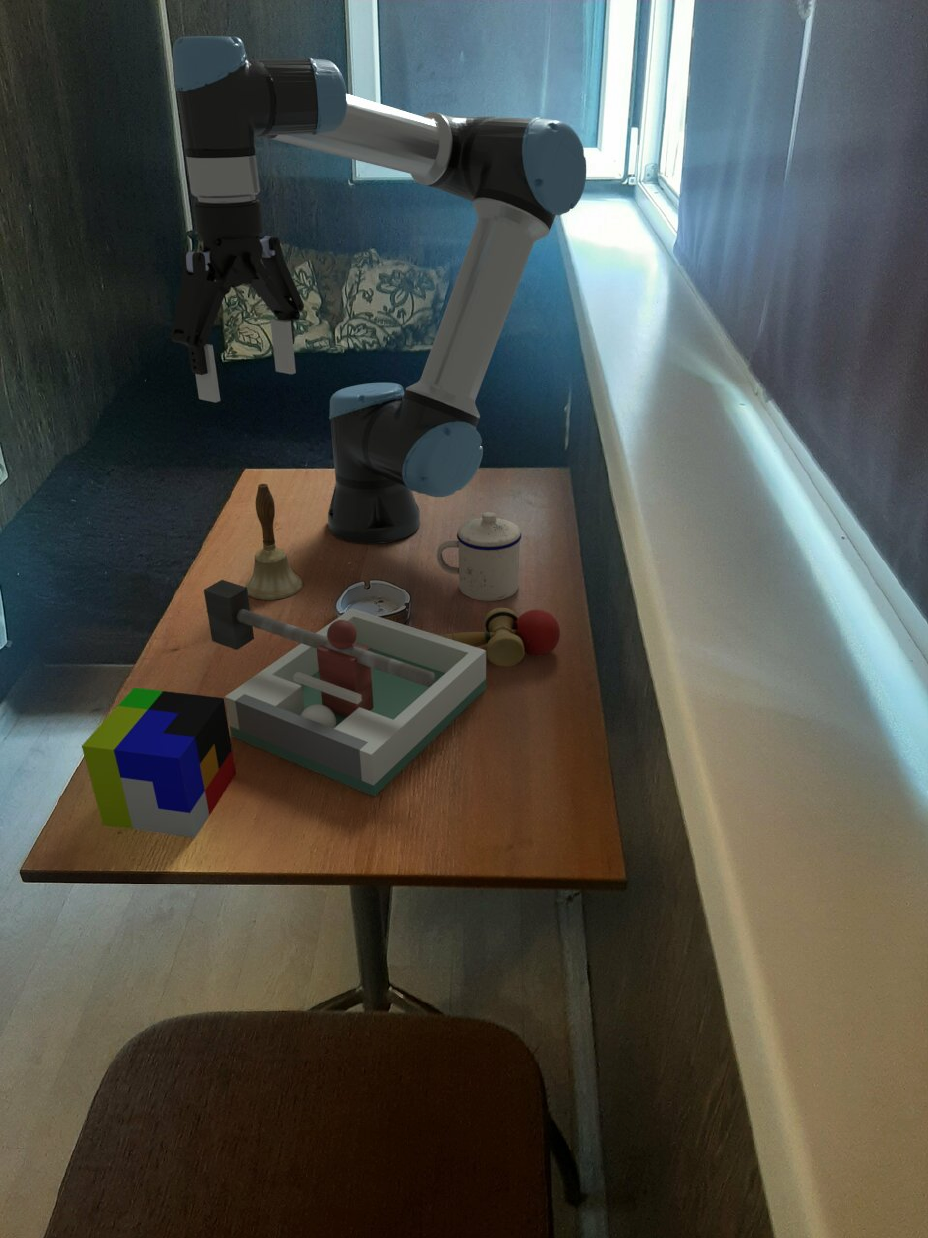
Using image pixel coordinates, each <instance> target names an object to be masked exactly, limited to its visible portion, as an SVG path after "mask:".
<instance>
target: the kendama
mask: <svg viewBox="0 0 928 1238" xmlns="http://www.w3.org/2000/svg"><path fill="white" fill-rule="evenodd" d="M484 627H485V631H474V632H473V631H472V632H471V631H470V632H469V631H468V632H467V631H465V632H464V631H463V632H453V633H444V634H443V633H442V634H437V635H438V636H441V637H445V638H448V639H451V640H454V641H457V642H461V643H464V644H467V645H470V646H473V647H477V648H479V647H480V646H485V645H486V647H485V648H486V649H485V650H486V657H487V659H488V660H489V662H490V663H492V664H493V665H495V666H498V667H511V666H515V665H517V664H519V662H521V660H522V659H523V658H524V656H525V654H526V655H527V656H531V657H542V656H545V655H548V654H549V653H551V652H552V651H554V649H555V648H556V647H557V645H558V643H559V641H560V635H561V634H560V632H561V630H560V626H559V623H558V621H557V619H556V618H555V617H554V615H552V614H551V613H550V612H549V611H545V610H544V609H543V610H542V609H531V610H527V611H525V612H523V613H522V614H520V616H518V615H517V613H516V612H515V611H514V610H512V609H510V608H507V607H497V608H494V609H492V610H491V611H489V612H488V613H487V615H486V616H485V618H484Z"/></svg>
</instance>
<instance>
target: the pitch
mask: <svg viewBox="0 0 928 1238" xmlns="http://www.w3.org/2000/svg"><path fill="white" fill-rule="evenodd" d="M337 620H346V621H349V622H350V623H352V624H353V626H354V627H355V629H356V633H357V636H356V640H355V642H354V643H355V644H358V645H361V646H364V647H367V648H370V652H373V653H376V654H379V655H382V656H385V657H388V658H391V659H394V660H397V661H400V662H403V663H406V664H409V665H412V666H415V667H418V668H421V669H424V670H427V671H430V672H433V673H434V674H435V679H434V682H433V684H432V685H431V686H430V687H427V686H424V685H421V684H418V683H415V682H412V681H409V680H406V679H404V678H401V677H398V676H395V675H392V674H389V673H386V672H383V671H380V670H377V669H375V668H372V667H371V677H372V692H373V706H374V708H373V709H372V710H370V711H368V710H366V709H363V708H360V707H359V708H358V709H357V710H355V711H354V712H353V713H352V714H351V715H349V716H348V717H345V716H343V715H340V714H337V713H335V712H333V713H334V716H335V719H336V726H335V728H334V729H333V728H331V727H328V726H325V725H323V724H320V723H318V722H315V721H313V720H310V719H307V718H305V717H302V716H301V714H302V712H303V711H304V710H305V709H306V708H307V707H309V706H311V705H316V704H320V705H322V696H321V691H322V692H325V693H328V694H330V695H333V696H336V697H339V698H341V699H344V700H347V701H349V702H352V703H355V704H358V703H360V702H361V701H362V697H361V694H358V693H356V692H353V691H350V690H347V689H345V688H342V687H339V686H336V685H333V684H331V683H328V682H325V681H322V680H320V677H319V667H318V657H317V649H316V648H314V647H311V646H308V645H305V644H302V643H299V644H298V645H297V646H296V647H294V648H293V649H291V650H289V651H288V652H287V653H285V654H284V655H283V656H281V657H280V658H278V659H277V660H276V661H274V662H273V663H271V664H269V665H268V666H267V667H266V668H264V669H262V670H261V671H260V672H258V673H257V674H256V675H254V676H253V677H251V678H250V679H248V680H247V681H245V682H244V683H243V684H241V685H240V686H238V687H237V688H236V689H234V690H232V691H231V692H229V693H227V694H226V695H225V696H224V701H225V705H226V706H225V707H226V714H227V720H228V726H229V729H230V730H229V732H230V738H234V739H237V740H239V741H240V742H241V741H242V742H243V743H246V744H247V745H250V746H253V747H256V748H257V749H260V750H262V751H264V752H267V753H269V754H272V755H275V756H277V757H279V758H281V759H283V760H286V761H288V762H291V763H294V764H296V765H299V766H300V767H303V768H305V769H307V770H310V771H312V772H314V771H315V772H314V773H316V774H319V775H321V776H325V777H327V778H329V779H332V780H334V781H336V782H338V783H340V784H343V785H345V786H348V787H350V788H353V789H355V790H357V791H360V792H362V793H364V794H367V795H369V796H372V797H376V796H377V795H378V794H379V793H380V792H381V791H382V790H383V789H384V788H385V787H386V786H387V785H388V784H389V783H390V782H391V781H392V780H393V779H394V778H396V777H397V776H398V775H399V774H400V772H402V771H403V770H404V769H405V768H406V767H407V766H408V765H409V764H410V763H411V762H412V761H413V760H414V759H415V758H416V757H417V756H418V755H419V754H420V753H422V752H423V750H424V749H425V748H427V747H428V745H430V743H432V742H433V741H434V740H435V739H436V738H437V737H438V736H439V735H440V734H441V733H442V732H443V731H444V730H445V729H446V728H447V727H448V726H449V725H450V724H451V723H452V722H453V721H455V720H456V719H457V717H458V716H460V715H461V713H463V712H464V711H465V709H467V708H468V707H469V706H470V705H471V704H472V703H473V702H474V701H475V700H476V699H477V698H478V697H479V696H480V695H481V694H482V693H483V692H484V691H486V690H487V651H486V649H483V648H480V647H473V646H470V645H467V644H464V643H461V642H457V641H454V640H451V639H448V638H445V637H441V636H438V635H439V634H435V633H433V632H428V631H425V630H422V629H418V628H415V627H413V626H409V625H406V624H404V623H400V622H396V621H393V620H390V619H386V618H384V617H380V616H377V615H374V614H371V613H368V612H365V611H362V610H358V609H355V608H350V609H348V610H347V611H345V612H343V614H341V615H340V616H338V617H337V618H335V619H334V620H333V621H331V622H330V623H328V624H327V625H325V626H324V627H322V628H321V629H320V630H318V631H317V632H316V633H317V634H320V635H323V636H326V637H327V631H328V628H329V627H330V625H331V624H332V623H333V622H335V621H337Z"/></svg>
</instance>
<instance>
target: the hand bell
mask: <svg viewBox="0 0 928 1238" xmlns="http://www.w3.org/2000/svg"><path fill="white" fill-rule="evenodd" d="M256 492H257V493H256V497H255V502H254V503H255V511H256V515H257V518H258V519H257V520H258V521H259V522H260V526H261V532H262V545H263V548H262V549H260V550H258V551H257V552H255V554H254V565H253V566H254V567H253V572H252V575H251V577H249V579H248V580H247V582H246V583H245V586H244V587H246V588H247V590H248V596H250V597H251V598H253V599H254V598H255V599H258V600H262V601H274V600H281V599H285V598H286V599H287V598H288V597H291V596H293V595H295V594H297V593H298V592H299V591H301V589H302V587H303V581H302V579H301V577H300V576H298V575H297V574H296V573H294V572H293V570H292V568H291V567H290V565H289V561H288V557H287V553H286V551H285V550H283V549H282V548H279V547H276V539H275V534H274V520H275V514H276V510H275V509H276V508H275V499H274V498H273V495H272V493H271V491H270V488H269V486H268V484H267V483H260V484H258V485H257V491H256Z"/></svg>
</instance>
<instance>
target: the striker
mask: <svg viewBox="0 0 928 1238" xmlns="http://www.w3.org/2000/svg"><path fill="white" fill-rule="evenodd" d="M203 595H204V601H205V606H206V612H207V617H208V618H207V619H208V625H209V630H210V635H211V642H213V643H215V644H216V643H217V644H219V645H222V646H225V647H227V648H230V649H232V650H235V651H238V650H239V649H241V648H242V647H244V646H246V645H247V644H249V643H250V642H252V641H253V640H255V634H254V628H256V629H259V630H262V631H265V632H267V633H270V634H274V635H276V636H280V637H282V638H285V639H288V640H290V641H294V642H297V643H299V644H301V643H302V644H305V645H308V646H311V647H314V648H316V649H317V657H318V667H319V677H320V680H322V681H325V682H328V683H331V684H333V685H336V686H339V687H342V688H345V689H347V690H350V691H353V692H356V693H358V694H361V697H362V701H361V702H360V703H358V704H355V703H352V702H349V701H347V700H344V699H341V698H339V697H336V696H333V695H330V694H328V693H325V692H322V691H321V696H322V705H324V706H326V707H328V708H329V709H330V710H331V711H332V712H335V713H337V714H340V715H343V716H345V717H348V716H349V715H351V714H352V713H353V712H354V711H355V710H357V709H358V708H359V707H360V708H363V709H366V710H368V711H370V710H372V709H373V708H374V706H373V692H372V677H371V667H372V668H375V669H377V670H380V671H383V672H386V673H389V674H392V675H395V676H398V677H401V678H404V679H406V680H409V681H412V682H415V683H418V684H421V685H424V686H427V687H430V686H431V685H432V684H433V682H434V679H435V674H434V673H433V672H430V671H427V670H424V669H421V668H418V667H415V666H412V665H409V664H406V663H403V662H400V661H397V660H394V659H391V658H388V657H385V656H382V655H379V654H376V653H373V652H370V648H367V647H364V646H361V645H358V644H355V643H354V642H355V640H356V636H357V633H356V629H355V627H354V626H353V624H352V623H350V622H349V621H346V620H337V621H335V622H333V621H332V622H333V623H332V624H331V625H330V627H329V628H328V631H327V637H326V636H323V635H320V634H317V632H313V631H310V630H307V629H304V628H302V627H298V626H297V625H292V624H289V623H287V622H285V621H281V620H278V619H276V618H271V617H269V616H266V615H263V614H259V613H256V612H254V611H251V605H250V599H249V598H250V597H249V595H248V590H247V588H246V587H245V586H244V585H239V584H237V583H233V582H230V581H228V580H225V579H220V580H219V581H217V582H215V583H213V584H212V585H209V586H208V587H206V588H205V589H203Z"/></svg>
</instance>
